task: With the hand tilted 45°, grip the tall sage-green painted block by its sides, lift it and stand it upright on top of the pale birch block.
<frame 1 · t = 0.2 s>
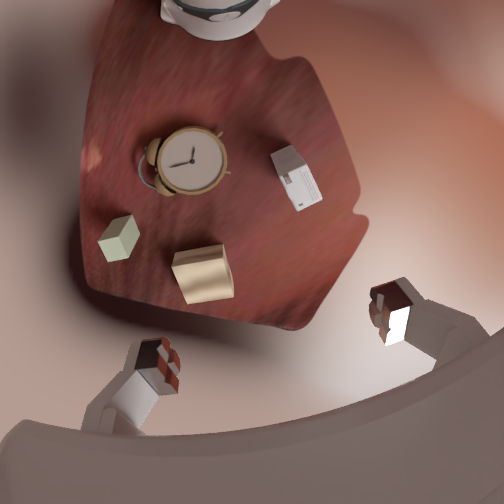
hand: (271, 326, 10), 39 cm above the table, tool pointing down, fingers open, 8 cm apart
alarm clock: (184, 158, 44), on the table
birch block: (205, 267, 57), on the table
sage block: (126, 226, 50), on the table
skincare box: (286, 162, 45), on the table
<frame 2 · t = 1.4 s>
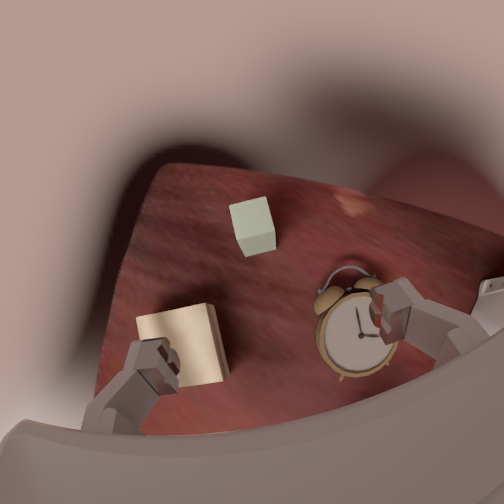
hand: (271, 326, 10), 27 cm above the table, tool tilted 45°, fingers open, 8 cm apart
alarm clock: (351, 321, 36), on the table
birch block: (188, 346, 37), on the table
sage block: (257, 238, 40), on the table
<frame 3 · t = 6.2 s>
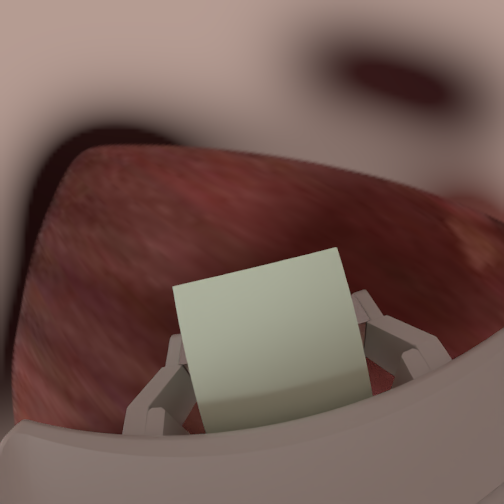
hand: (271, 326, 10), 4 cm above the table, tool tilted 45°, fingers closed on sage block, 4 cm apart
sage block: (275, 337, 14), on the table, touching gripper
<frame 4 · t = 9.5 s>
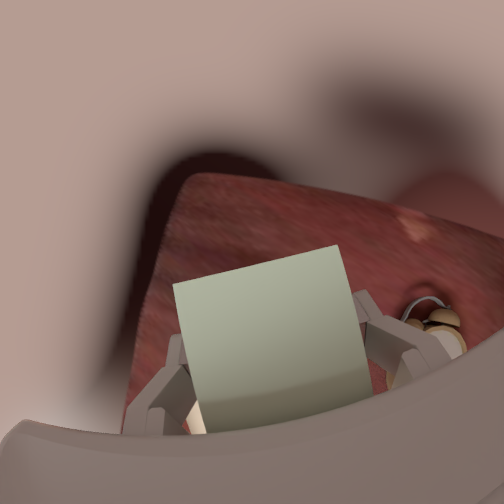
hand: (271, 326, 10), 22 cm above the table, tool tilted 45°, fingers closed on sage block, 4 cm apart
alarm clock: (420, 354, 28), on the table
birch block: (236, 398, 30), on the table
sage block: (276, 336, 14), point 17 cm above the table, touching gripper
when the fingers open (11 cm above the table, at t = 13.2 s): sage block drops 2 cm, resting on birch block.
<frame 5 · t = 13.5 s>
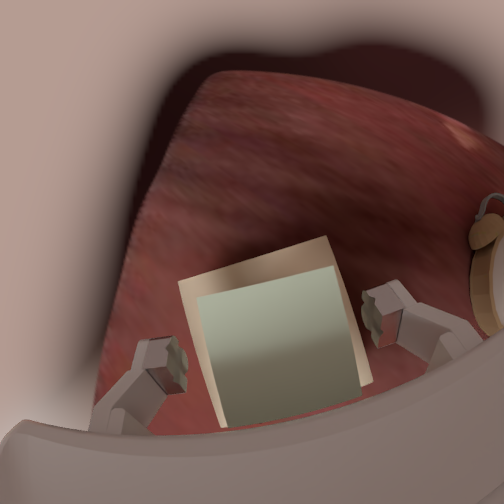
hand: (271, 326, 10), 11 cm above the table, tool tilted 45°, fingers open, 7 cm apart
alarm clock: (496, 270, 20), on the table
birch block: (275, 332, 21), on the table, touching sage block
sage block: (275, 334, 16), point 5 cm above the table, touching birch block
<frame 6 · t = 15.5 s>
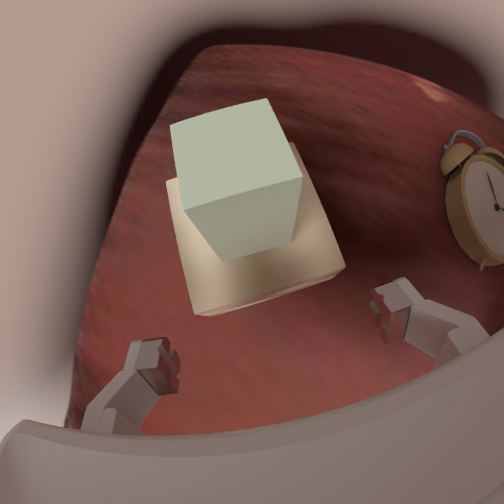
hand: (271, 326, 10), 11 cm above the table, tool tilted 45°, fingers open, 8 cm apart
alarm clock: (474, 202, 22), on the table
birch block: (254, 240, 23), on the table
sage block: (247, 220, 18), point 5 cm above the table
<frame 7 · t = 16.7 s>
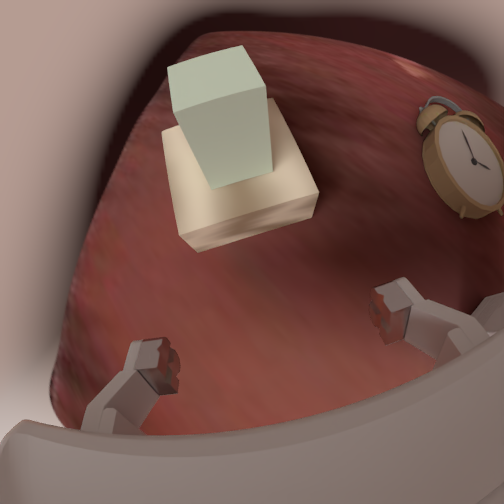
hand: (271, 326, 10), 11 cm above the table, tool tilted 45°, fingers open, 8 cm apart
alarm clock: (453, 161, 23), on the table
birch block: (239, 186, 24), on the table
sage block: (234, 156, 19), point 5 cm above the table
skincare box: (475, 329, 19), on the table
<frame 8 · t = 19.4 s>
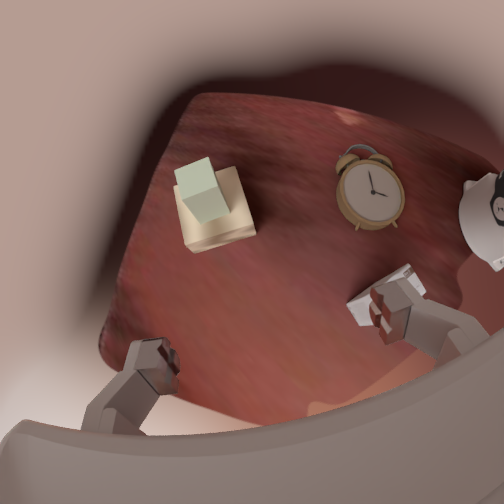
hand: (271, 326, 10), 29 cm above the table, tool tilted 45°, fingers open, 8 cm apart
alarm clock: (365, 190, 43), on the table
birch block: (217, 216, 44), on the table
sage block: (211, 205, 39), point 5 cm above the table
skincare box: (367, 303, 38), on the table
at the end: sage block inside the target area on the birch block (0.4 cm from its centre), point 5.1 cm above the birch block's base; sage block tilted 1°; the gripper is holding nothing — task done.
